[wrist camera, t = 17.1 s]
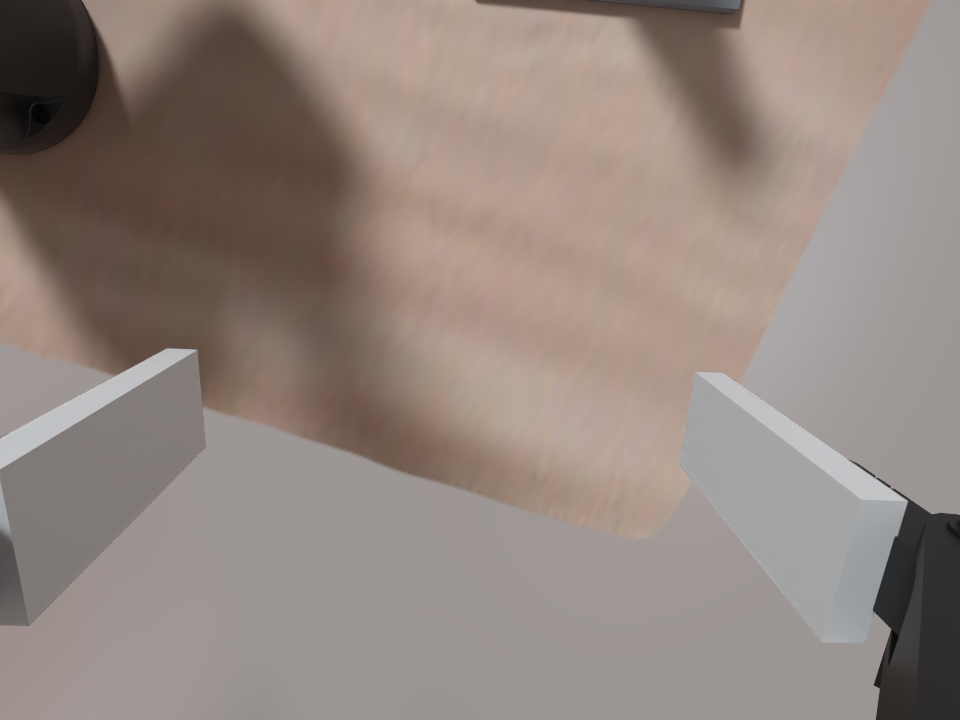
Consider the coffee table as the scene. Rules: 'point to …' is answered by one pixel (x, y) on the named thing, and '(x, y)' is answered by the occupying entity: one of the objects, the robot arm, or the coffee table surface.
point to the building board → (689, 4)
